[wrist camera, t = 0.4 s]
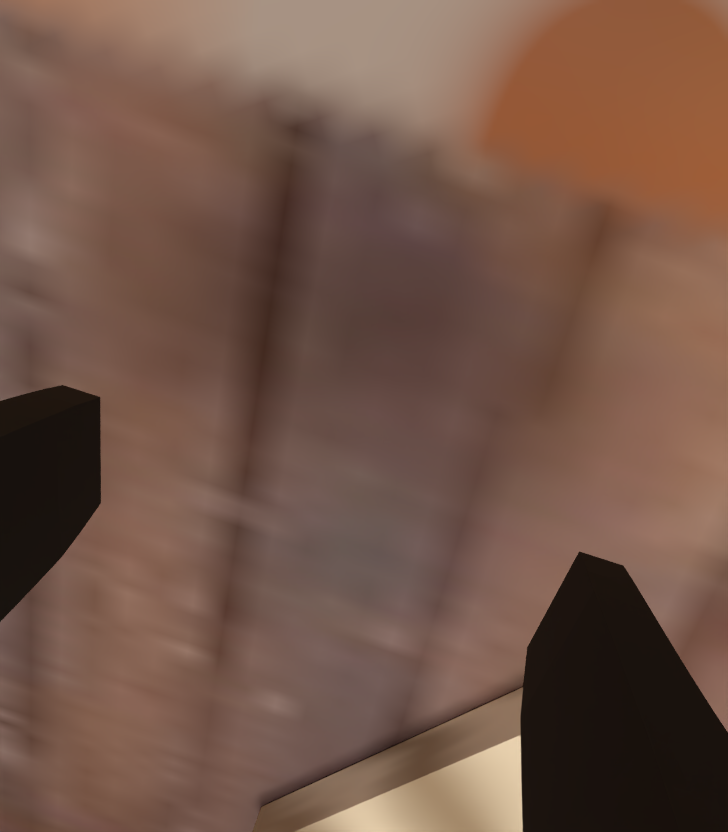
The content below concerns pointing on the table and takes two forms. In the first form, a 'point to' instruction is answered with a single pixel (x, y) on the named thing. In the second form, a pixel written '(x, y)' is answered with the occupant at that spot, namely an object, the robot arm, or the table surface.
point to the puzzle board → (421, 782)
